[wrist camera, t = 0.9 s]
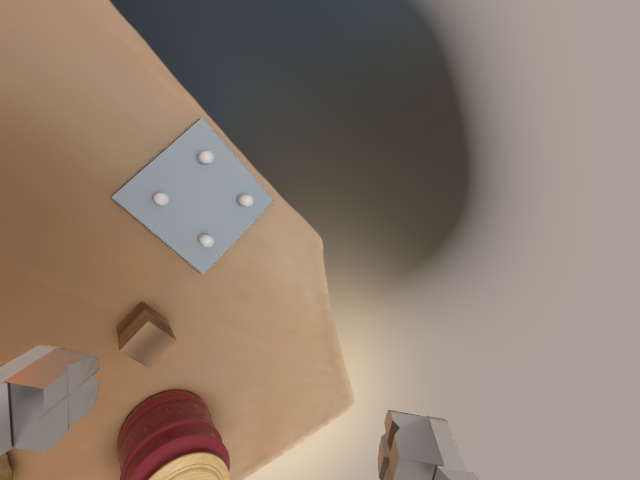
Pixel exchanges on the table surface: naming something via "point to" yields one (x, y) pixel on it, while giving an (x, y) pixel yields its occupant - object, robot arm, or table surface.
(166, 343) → the walnut block
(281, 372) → the table surface
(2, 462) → the rough brown rock
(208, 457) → the canister
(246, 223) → the peg seat
